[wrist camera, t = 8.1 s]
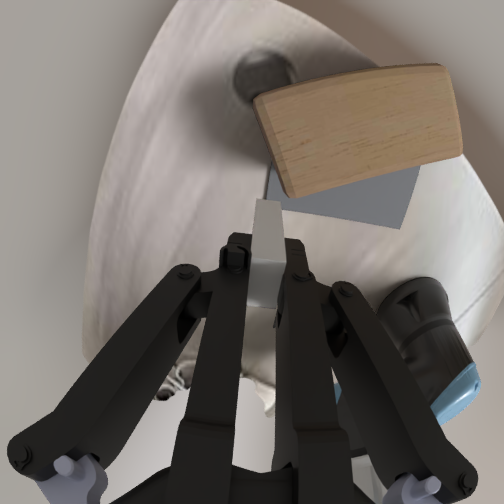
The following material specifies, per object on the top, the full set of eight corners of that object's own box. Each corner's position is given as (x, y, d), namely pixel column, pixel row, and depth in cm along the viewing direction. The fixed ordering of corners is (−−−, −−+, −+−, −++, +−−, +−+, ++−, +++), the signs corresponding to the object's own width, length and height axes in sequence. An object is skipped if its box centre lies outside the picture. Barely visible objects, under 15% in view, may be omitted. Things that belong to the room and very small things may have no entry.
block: (280, 176, 32) (422, 140, 28) (287, 205, 24) (467, 158, 19) (253, 100, 28) (404, 68, 23) (247, 97, 19) (449, 62, 15)
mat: (424, 144, 29) (425, 145, 28) (398, 228, 36) (399, 229, 35) (279, 107, 28) (279, 107, 28) (265, 206, 35) (265, 207, 35)
